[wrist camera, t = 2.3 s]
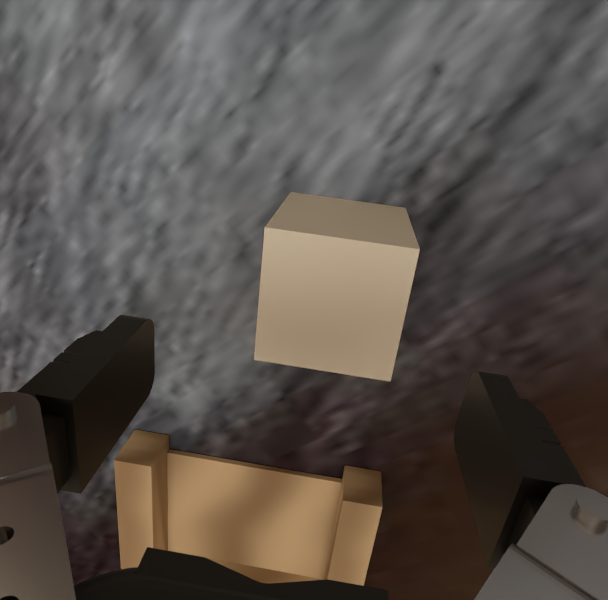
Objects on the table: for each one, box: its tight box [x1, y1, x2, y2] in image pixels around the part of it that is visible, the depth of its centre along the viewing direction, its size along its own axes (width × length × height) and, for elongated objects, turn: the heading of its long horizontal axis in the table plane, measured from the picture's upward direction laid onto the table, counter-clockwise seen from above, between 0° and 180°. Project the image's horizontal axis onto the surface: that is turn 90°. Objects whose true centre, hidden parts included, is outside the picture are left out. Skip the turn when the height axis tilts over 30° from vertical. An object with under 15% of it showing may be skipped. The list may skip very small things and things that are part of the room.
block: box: [254, 192, 420, 382], centre depth 19 cm, size 5×5×6 cm
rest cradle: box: [114, 430, 382, 586], centre depth 28 cm, size 14×11×2 cm
